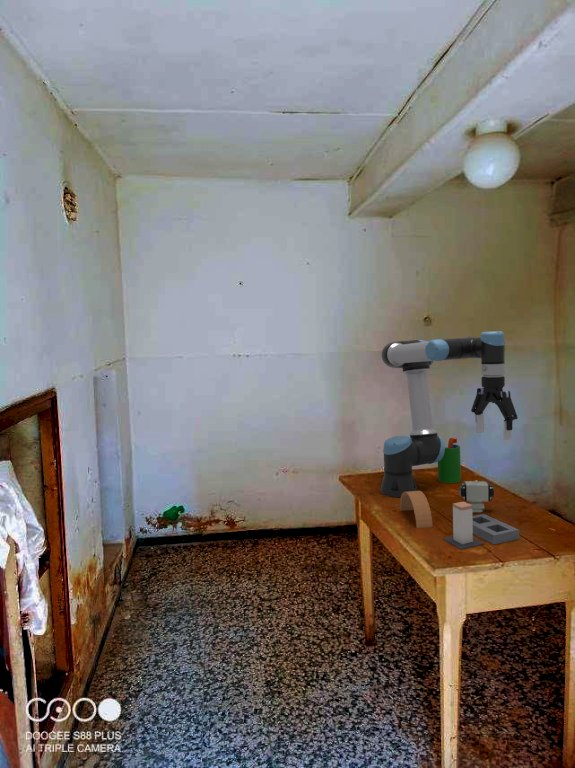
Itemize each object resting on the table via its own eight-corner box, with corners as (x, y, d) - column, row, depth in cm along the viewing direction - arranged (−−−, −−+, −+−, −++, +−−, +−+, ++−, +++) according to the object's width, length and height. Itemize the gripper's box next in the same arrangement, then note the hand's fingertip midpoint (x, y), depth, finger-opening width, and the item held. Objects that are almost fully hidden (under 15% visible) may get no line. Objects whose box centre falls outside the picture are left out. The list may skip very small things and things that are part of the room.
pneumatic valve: (494, 514, 186) (494, 482, 184) (461, 513, 188) (460, 481, 187) (491, 508, 191) (491, 477, 190) (459, 508, 193) (458, 477, 192)
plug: (453, 539, 163) (452, 503, 162) (464, 537, 165) (463, 501, 164) (462, 544, 159) (461, 507, 158) (472, 541, 161) (472, 505, 160)
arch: (414, 509, 195) (413, 484, 194) (432, 528, 175) (432, 500, 174) (399, 510, 195) (398, 485, 194) (416, 530, 175) (415, 502, 174)
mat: (442, 540, 165) (442, 538, 165) (465, 535, 168) (465, 533, 168) (460, 551, 156) (460, 548, 156) (484, 545, 159) (484, 543, 159)
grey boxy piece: (460, 528, 174) (460, 518, 173) (484, 523, 177) (483, 513, 177) (494, 546, 159) (493, 535, 158) (518, 540, 162) (518, 529, 162)
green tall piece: (448, 476, 235) (447, 434, 233) (465, 479, 228) (464, 436, 226) (435, 481, 229) (434, 437, 227) (452, 484, 222) (452, 440, 220)
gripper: (460, 374, 186) (461, 430, 188) (510, 379, 162) (510, 443, 165) (477, 372, 188) (478, 428, 190) (529, 377, 165) (529, 441, 167)
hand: (493, 435), depth 177 cm, fingers open, 13 cm apart
